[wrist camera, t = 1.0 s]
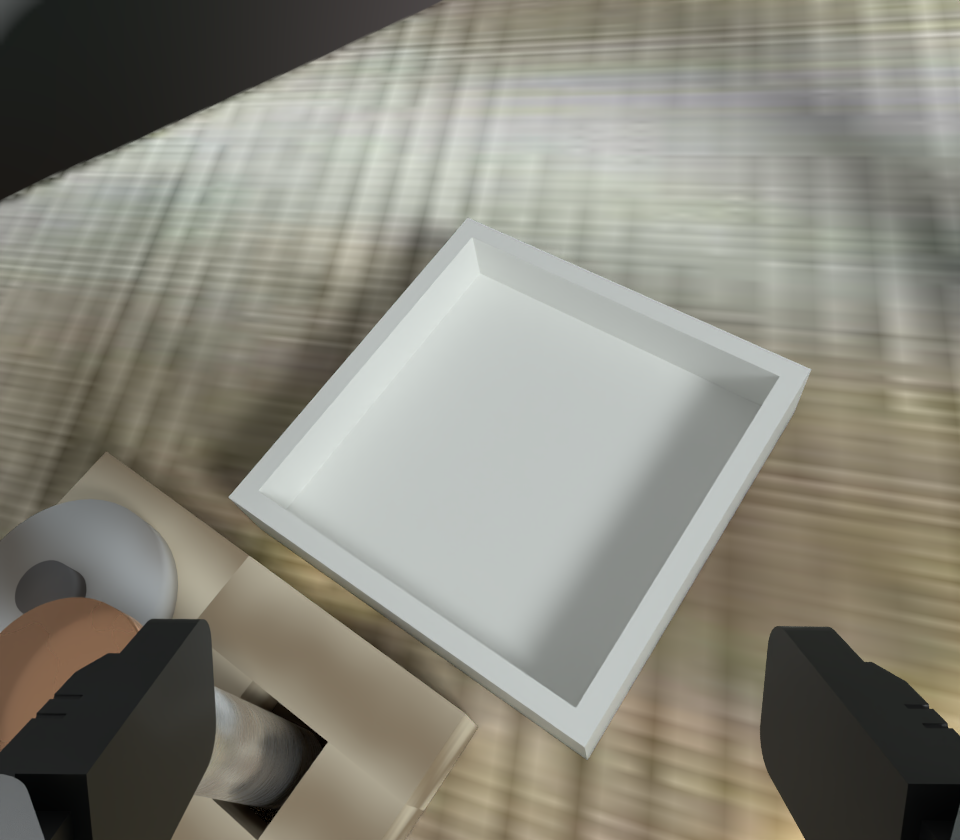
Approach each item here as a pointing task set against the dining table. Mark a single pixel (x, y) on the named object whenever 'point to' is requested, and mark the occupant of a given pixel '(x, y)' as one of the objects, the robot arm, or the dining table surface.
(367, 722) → the wooden peg base
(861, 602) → the dining table surface
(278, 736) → the lock pin
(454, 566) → the tray
